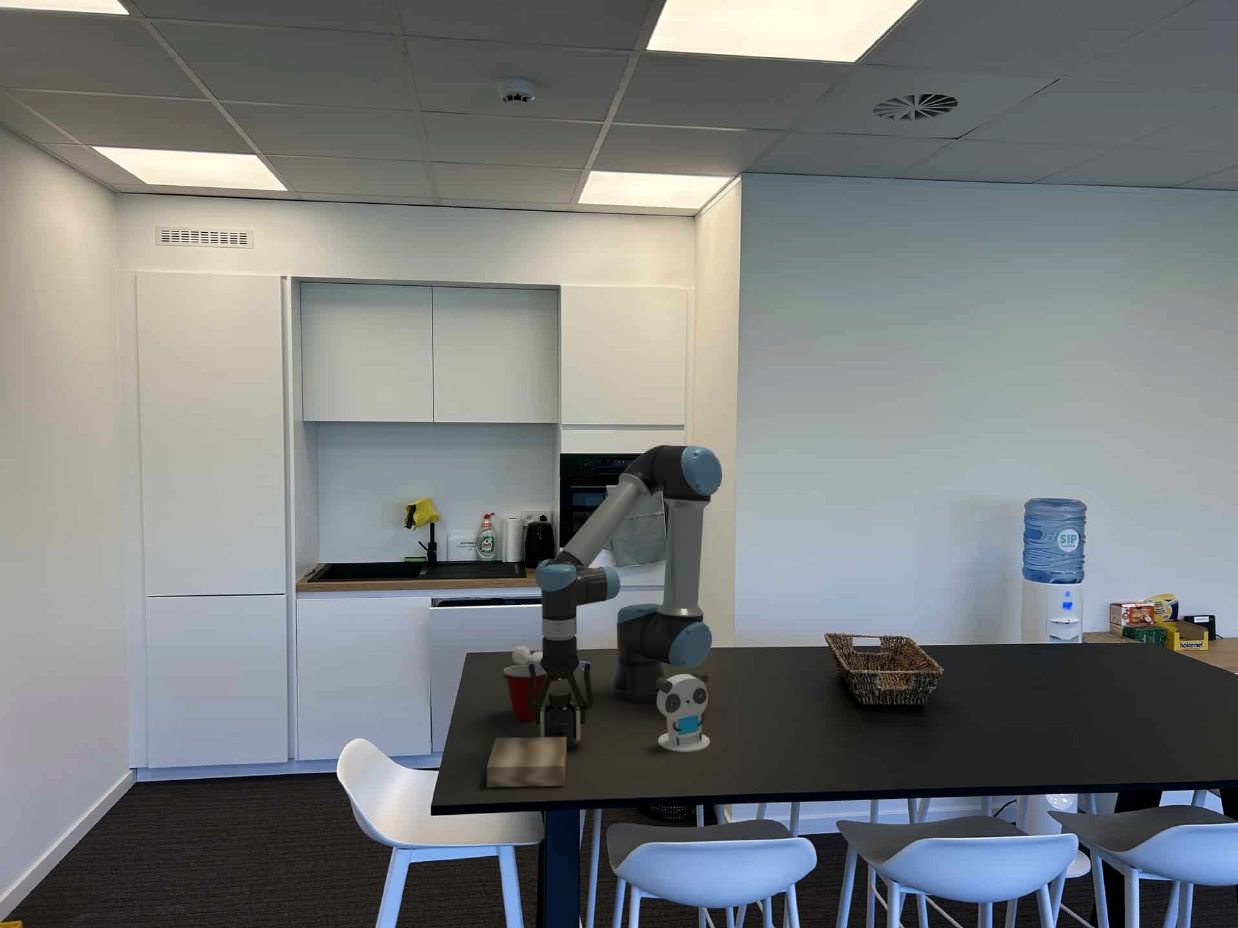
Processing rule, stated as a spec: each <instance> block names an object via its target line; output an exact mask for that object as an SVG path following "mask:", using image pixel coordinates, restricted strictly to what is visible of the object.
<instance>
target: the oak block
mask: <svg viewBox="0 0 1238 928" xmlns="http://www.w3.org/2000/svg"><path fill="white" fill-rule="evenodd" d="M567 751H568V750H567V746H566V737H541V736H540V737H539V736H538V737H496V738H495V741H494V743H493V746H492V750H491V753H490V756H489V759H488V762H487V766H486V787H487V788H493V787H494V788H500V787H501V788H502V787H503V788H505V787H509V788H510V787H512V788H513V787H515V788H516V787H560V786H561V787H563V786H564V784H565V775H566V766H567V765H566V764H567V757H568V756H567V754H568V753H567Z"/></svg>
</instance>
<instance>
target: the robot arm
mask: <svg viewBox="0 0 1238 928" xmlns="http://www.w3.org/2000/svg"><path fill="white" fill-rule="evenodd" d="M722 478H723V470H722V465H721V462H720V459H719V458H718V457H717V456H716V453H714V451H712V449H709V448H706V447H703V446H696V445H671V444H669V445H668V444H660V445H656V446H654V447H652V448H650V449H648V450H646V451H644V452H643V453H642V454H640V455H639V456H637V457H636V459H633V461H632V462H631V463H630V464H629V465H628V466H627V467H626V468H625V469H624V470H623V472H621V474H620V475H619V476H618V483H617V485H616V486H615V487H614V488H613V489H612V491H611V492H610V493H609V494H608V495H607V497H606V498H605V499H604V500H603V501H602V502H601V503H600V505H598V507H597V508H596V510H594V511H593V512H592V514H591V515H590V516H589V517H588V519H587V520H586V521H585V523H584V524H583V525H582V526H581V527H580V528H579V530H578V531H577V532H576V533H575V534H574V536H573V537H572V538H571V539H570V540H569V541H568V543H567V544H566V545H565V546H564V547H563V548H562V550H560V551H559V553H558V554H557V555H556V557H555V558H554V559H553V558H551V559H544V560H543V561H541V562H540V563H539V564H538V565H537V567H536V569H535V573H534V580H535V583H536V585H537V586H538V588H540V590H541V627H542V628H541V634H542V636H543V637H542V638H541V639H542V640H541V641H542V642H541V643H542V647H541V648H542V651H541V652H542V659H541V661H538V662H533V661H531V662H530V663H529V662H528V665H529V672H530V682H529V690H528V699H527V708H528V709H533V710H534V711H535V720H534V721H535V722H534V723H535V725H536V726H539V727H540V730H539V731H540V737H545V707H543V704H544V701H545V698H546V696H547V694H548V690H549V688H550V685H551V684H552V680H559V678H561V680H567V682H568V684H569V687H570V689H571V691H572V694H573V696H574V698H575V701H576V703H577V706H578V707H576V742H578V741H579V742H580V741H581V737H582V736H581V735H582V734H581V725H585V723H586V710H587V709H591V708H593V707H594V696H593V687H592V683H591V682H592V681H591V675H590V672H591V671H590V670H591V665H592V662H591V660H585V661H584V660H580V659H579V657H578V647H577V646H578V645H577V643H578V642H577V641H578V639H577V636H576V634H577V632H578V631H577V629H578V628H577V627H578V626H577V623H578V622H577V621H578V620H577V616H578V615H577V608H578V607H580V606H584V605H590V604H595V603H602V602H603V603H604V602H606V601H609V600H612V599H615V598H616V597H617V596H618V595H619V593H620V590H621V579H620V576H619V574H618V572H617V571H616V569H614V568H613V567H610V566H598V567H595V568H594V567H593V568H592V567H590V566H591V565H592V564H593V562H594V561H595V560H596V558H597V557H598V556H599V555H600V554H601V552H602V551H603V550H604V549H605V548H606V547H607V545H608V544H609V543H610V541H611V540H612V539H613V538H614V537H615V535H616V534H617V533H618V531H619V530H620V529H621V528H622V527H623V526H624V524H626V523H627V521H629V518H630V517H631V516H632V515H633V513H634V512H635V511H636V510H637V509H638V507H640V505H641V503H646V502H649V500H650V499H651V498H652V497H653V496H654V495H655V494H657V493H659V492H663V497H662V498H663V499H662V500H663V501H664V502H665V503H666V504H667V506H668V518H667V519H668V520H667V532H666V550H665V551H666V552H665V565H664V569H665V570H664V584H663V599H662V604H658V603H642V604H641V603H640V604H632V605H627V606H624V607H622V608H620V609H619V610H618V612H617V620H616V621H617V622H616V643H617V644H616V645H617V649H616V650H617V665H616V668H615V671H614V675H613V677H612V681H611V685H610V694H611V696H612V697H613V698H615V699H616V700H619V701H622V702H627V703H634V704H636V703H637V704H640V703H641V704H643V703H644V704H645V703H653V702H657V696H658V693H659V689H657V688H656V681H657V679H658V678H660V677H662V678H664V679H666V680H667V679H668V678H667V674H666V671H665V668H664V664H667V665H670V666H672V667H675V668H681V669H682V668H683V669H686V670H688V669H693V668H696V667H698V666H700V665H701V663H703V661H704V660H705V659H706V658H707V656H708V654H709V652H710V650H711V647H712V642H713V635H712V631H711V630H710V627H709V626H708V625H707V624H706V623H705V622H704V611H703V609H701V608H700V606H699V592H700V591H699V588H700V573H701V561H702V559H701V558H702V557H701V556H702V543H703V541H702V540H703V527H704V525H703V524H704V513H705V512H704V510H705V508H706V507H707V506H708V505H709V504H711V500H712V499H711V497H712V495H713V494H715V493H716V492H718V490H719V487H720V486H721V484H722V480H723V479H722ZM663 663H664V664H663ZM539 667H542V668H543V669H544V670H545V672H546V673H547V676H546V678H545V682H544V684H543V687H542V690H541V692H540V695H539V697H538V700H537V702H534V701H533V699H534V690H535V682H536V672H538V671H539ZM578 667H580V671H581V672H582V673H583V680H584V686H585V687H584V689H585V695H586V700H585V699H584V697H583V695H582V692H581V690H580V687H579V685H578V683H577V679H576V678H575V673H574V672H575V671H576V669H577V668H578Z"/></svg>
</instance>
